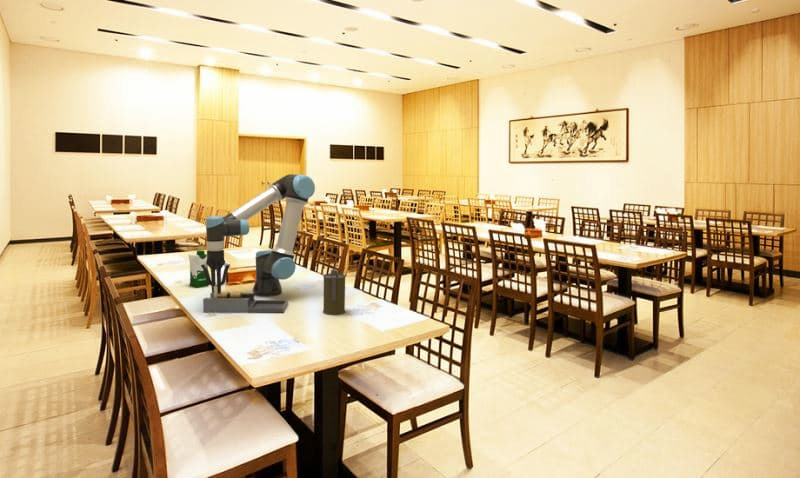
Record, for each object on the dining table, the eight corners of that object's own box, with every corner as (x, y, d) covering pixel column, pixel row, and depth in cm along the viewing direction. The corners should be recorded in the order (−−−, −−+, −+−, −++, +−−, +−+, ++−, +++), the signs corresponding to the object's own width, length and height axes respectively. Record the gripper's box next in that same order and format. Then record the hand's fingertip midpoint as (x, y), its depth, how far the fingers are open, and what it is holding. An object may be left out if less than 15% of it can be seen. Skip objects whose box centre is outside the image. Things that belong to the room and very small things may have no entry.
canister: (323, 308, 240) (323, 267, 237) (345, 308, 241) (346, 268, 238) (322, 315, 229) (322, 272, 226) (344, 315, 230) (345, 272, 227)
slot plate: (254, 304, 244) (254, 292, 243) (248, 312, 230) (248, 299, 229) (212, 304, 242) (212, 292, 241) (203, 312, 228) (203, 299, 227)
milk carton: (196, 288, 272) (195, 252, 269) (187, 286, 277) (186, 250, 274) (211, 286, 279) (210, 250, 276) (201, 283, 284) (200, 248, 281)
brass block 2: (242, 301, 238) (242, 291, 237) (240, 303, 234) (239, 294, 233) (232, 300, 238) (232, 291, 237) (230, 303, 233) (230, 294, 233)
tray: (288, 304, 245) (288, 300, 245) (283, 313, 230) (283, 308, 230) (254, 304, 244) (254, 299, 244) (247, 312, 229) (247, 308, 229)
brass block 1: (229, 301, 237) (229, 291, 237) (226, 303, 233) (226, 294, 232) (219, 300, 237) (219, 291, 237) (216, 303, 233) (216, 293, 232)
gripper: (231, 248, 236) (232, 297, 239) (203, 248, 235) (204, 297, 238) (227, 251, 228) (228, 301, 232) (198, 250, 227) (199, 301, 231)
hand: (216, 299), depth 235 cm, fingers closed
